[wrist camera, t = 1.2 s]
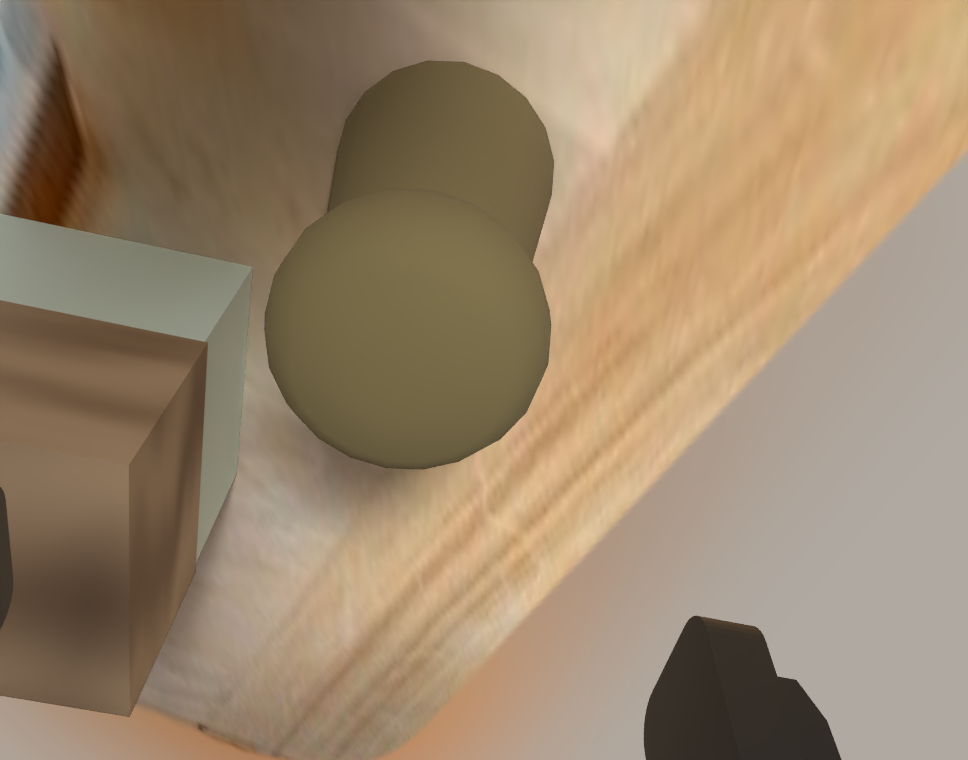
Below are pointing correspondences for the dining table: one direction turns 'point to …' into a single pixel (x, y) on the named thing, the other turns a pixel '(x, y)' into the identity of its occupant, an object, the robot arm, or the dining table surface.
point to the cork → (420, 274)
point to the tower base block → (146, 316)
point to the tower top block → (95, 501)
